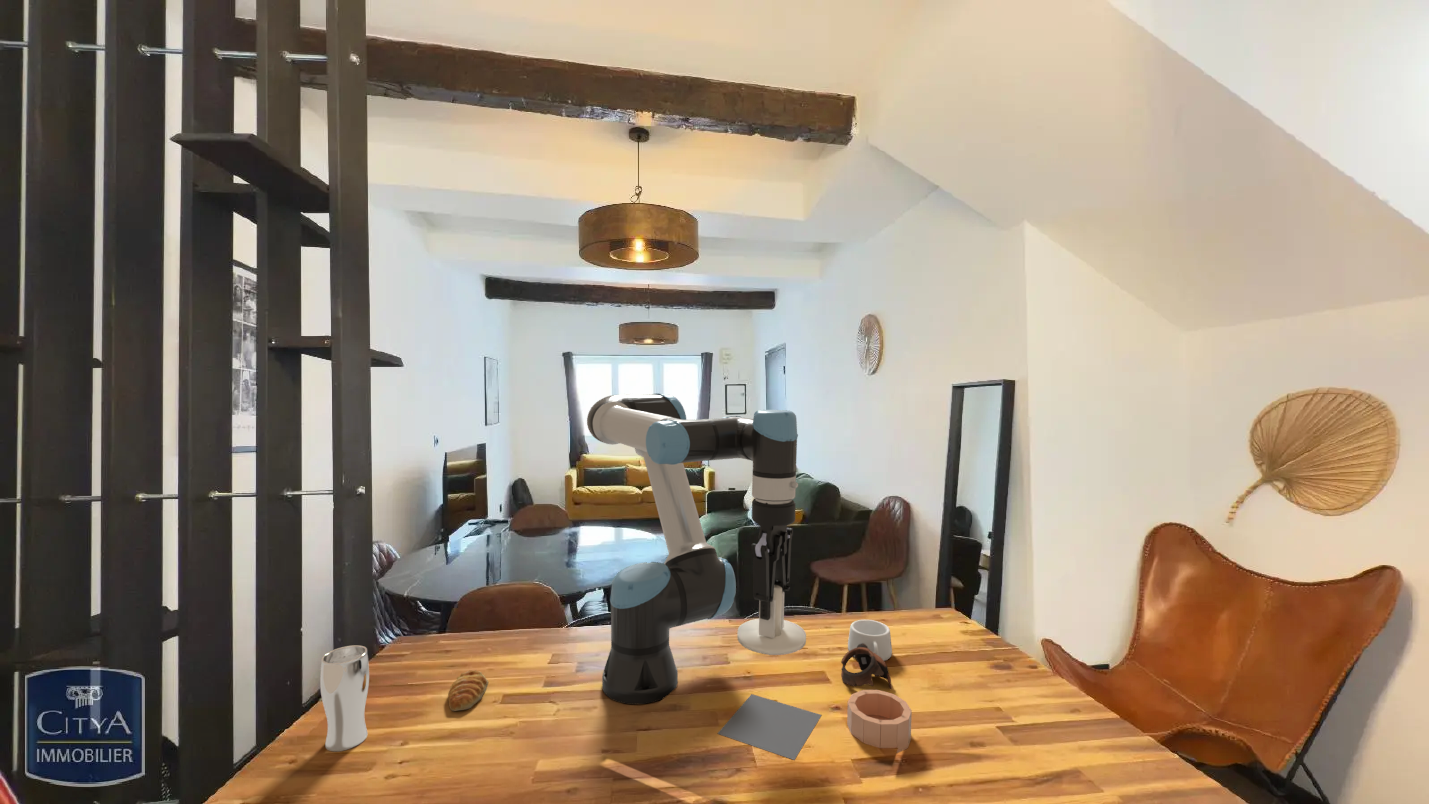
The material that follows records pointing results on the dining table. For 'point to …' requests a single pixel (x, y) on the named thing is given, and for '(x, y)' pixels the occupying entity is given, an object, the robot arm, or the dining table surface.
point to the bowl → (879, 719)
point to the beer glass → (345, 696)
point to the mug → (871, 637)
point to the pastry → (467, 690)
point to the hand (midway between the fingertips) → (771, 630)
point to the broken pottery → (864, 667)
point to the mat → (771, 726)
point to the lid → (784, 638)
